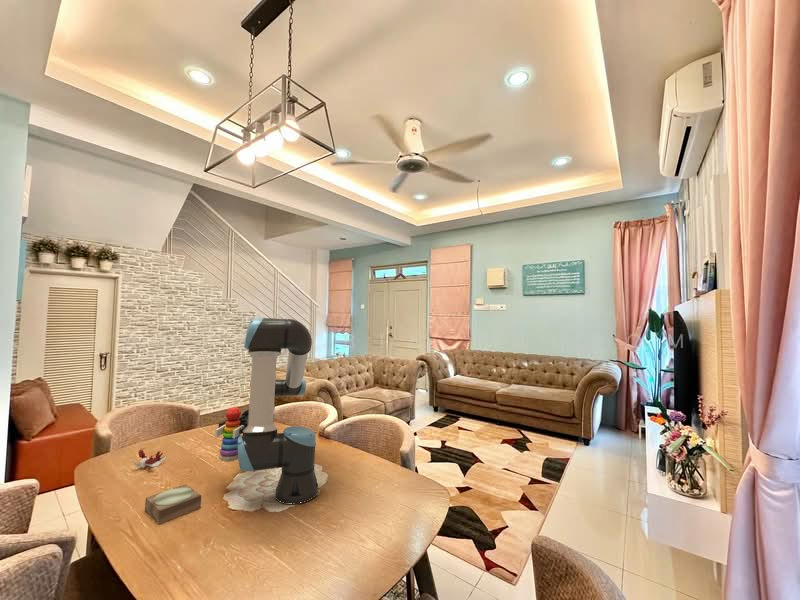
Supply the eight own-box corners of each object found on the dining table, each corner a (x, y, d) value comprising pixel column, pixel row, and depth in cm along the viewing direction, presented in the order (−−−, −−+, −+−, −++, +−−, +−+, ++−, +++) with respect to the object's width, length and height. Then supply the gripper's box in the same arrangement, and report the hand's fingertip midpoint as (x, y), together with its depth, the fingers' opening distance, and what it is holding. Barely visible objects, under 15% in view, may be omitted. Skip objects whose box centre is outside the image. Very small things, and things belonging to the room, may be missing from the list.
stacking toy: (246, 455, 131) (250, 405, 132) (234, 463, 123) (238, 410, 124) (226, 453, 132) (230, 404, 133) (213, 461, 124) (218, 409, 125)
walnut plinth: (200, 507, 114) (201, 494, 114) (159, 524, 104) (160, 509, 105) (184, 495, 121) (185, 483, 121) (144, 510, 111) (145, 496, 112)
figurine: (173, 467, 143) (174, 451, 144) (140, 477, 134) (141, 459, 134) (158, 457, 152) (159, 442, 152) (126, 466, 142) (127, 450, 143)
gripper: (274, 426, 145) (250, 445, 122) (231, 424, 146) (198, 443, 123) (275, 408, 146) (251, 424, 123) (232, 406, 146) (199, 422, 123)
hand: (224, 434), depth 123 cm, fingers closed on stacking toy, 6 cm apart
